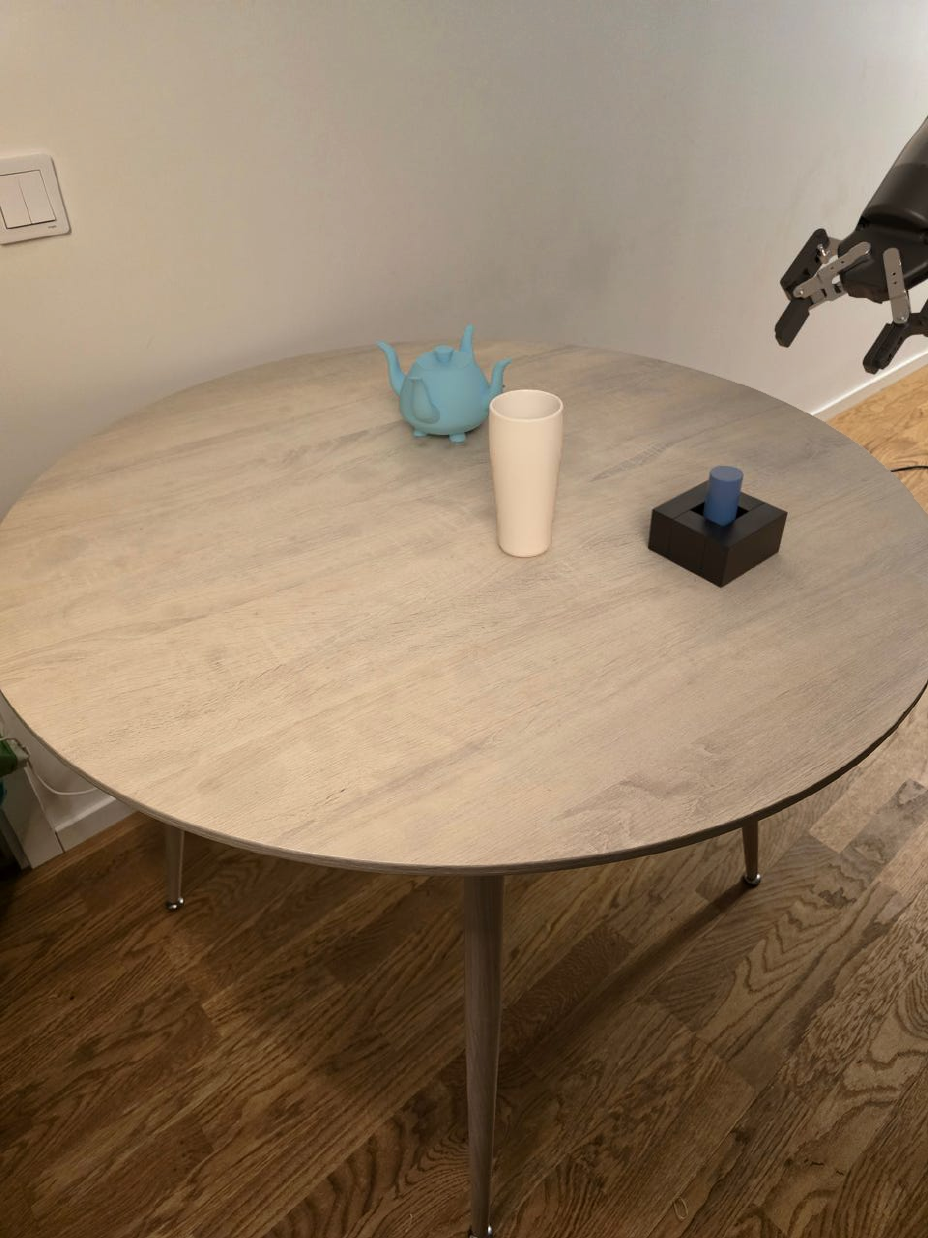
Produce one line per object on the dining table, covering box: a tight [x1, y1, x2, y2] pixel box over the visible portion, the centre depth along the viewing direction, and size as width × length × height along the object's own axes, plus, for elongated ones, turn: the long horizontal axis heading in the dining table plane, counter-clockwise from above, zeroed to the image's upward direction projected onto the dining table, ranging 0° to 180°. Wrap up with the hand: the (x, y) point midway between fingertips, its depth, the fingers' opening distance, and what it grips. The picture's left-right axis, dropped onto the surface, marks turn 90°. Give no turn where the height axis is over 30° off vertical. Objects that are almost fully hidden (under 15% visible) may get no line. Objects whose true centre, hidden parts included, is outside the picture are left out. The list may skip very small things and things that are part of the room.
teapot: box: [375, 324, 514, 443], centre depth 104 cm, size 13×13×10 cm
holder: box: [647, 479, 789, 589], centre depth 83 cm, size 9×9×4 cm
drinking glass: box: [488, 389, 565, 558], centre depth 81 cm, size 7×7×15 cm
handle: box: [703, 465, 744, 527], centre depth 82 cm, size 3×3×8 cm
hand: (823, 355), depth 75 cm, fingers open, 8 cm apart
